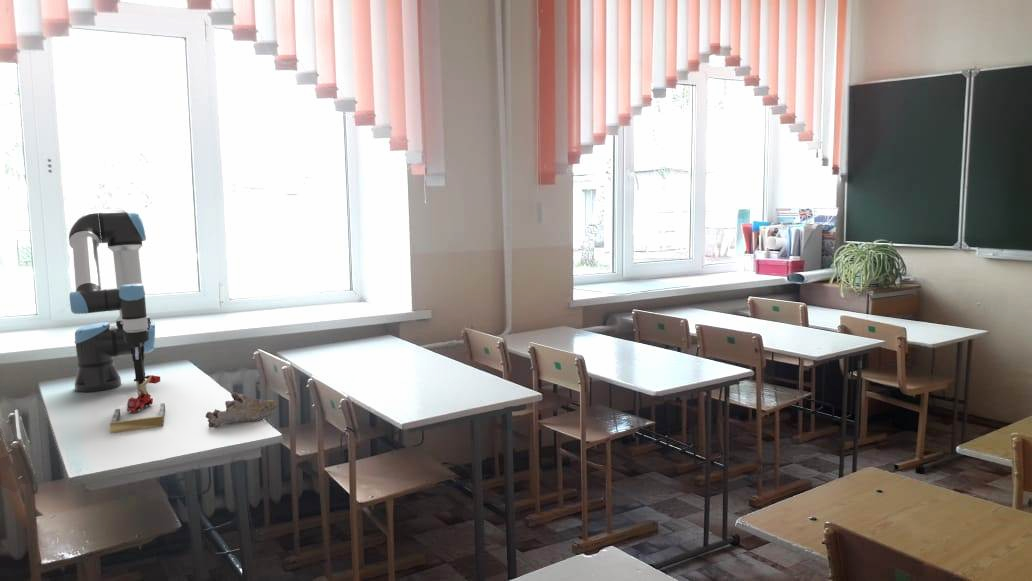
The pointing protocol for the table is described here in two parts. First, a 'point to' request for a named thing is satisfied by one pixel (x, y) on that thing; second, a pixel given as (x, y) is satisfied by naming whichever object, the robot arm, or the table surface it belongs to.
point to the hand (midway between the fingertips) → (142, 398)
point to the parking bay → (136, 421)
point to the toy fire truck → (142, 396)
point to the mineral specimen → (242, 410)
